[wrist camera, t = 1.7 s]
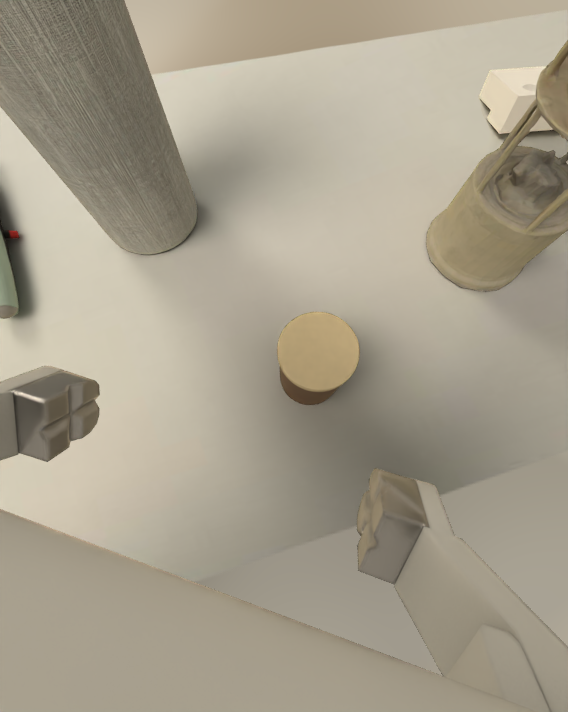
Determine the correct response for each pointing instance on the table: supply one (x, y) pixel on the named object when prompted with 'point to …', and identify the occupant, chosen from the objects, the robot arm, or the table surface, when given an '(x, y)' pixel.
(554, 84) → the lamp
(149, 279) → the table surface
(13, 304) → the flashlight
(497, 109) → the bracket
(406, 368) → the table surface
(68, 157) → the vase
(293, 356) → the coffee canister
